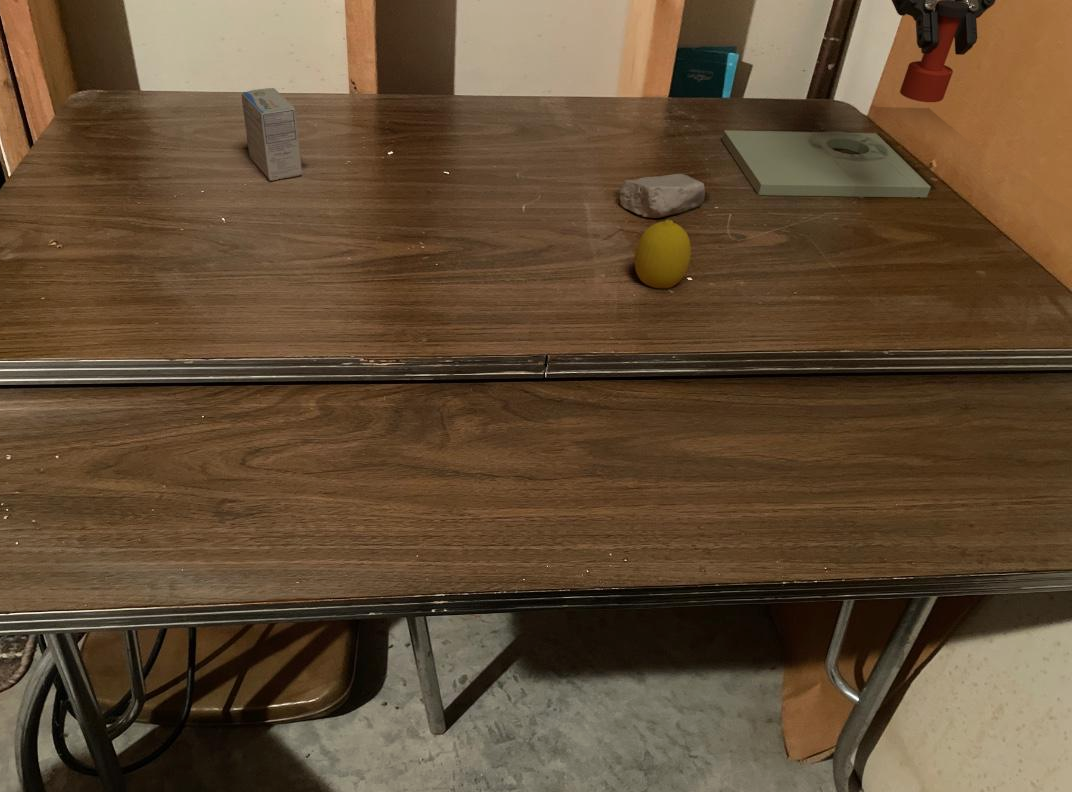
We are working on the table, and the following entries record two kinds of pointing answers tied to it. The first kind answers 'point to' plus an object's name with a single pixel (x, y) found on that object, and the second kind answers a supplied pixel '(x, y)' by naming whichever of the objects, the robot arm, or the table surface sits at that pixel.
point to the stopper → (935, 57)
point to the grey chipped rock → (662, 195)
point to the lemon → (662, 255)
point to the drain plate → (822, 164)
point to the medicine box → (272, 133)
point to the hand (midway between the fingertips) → (947, 49)
